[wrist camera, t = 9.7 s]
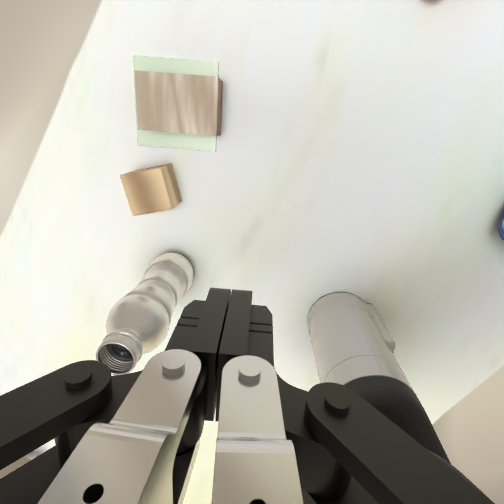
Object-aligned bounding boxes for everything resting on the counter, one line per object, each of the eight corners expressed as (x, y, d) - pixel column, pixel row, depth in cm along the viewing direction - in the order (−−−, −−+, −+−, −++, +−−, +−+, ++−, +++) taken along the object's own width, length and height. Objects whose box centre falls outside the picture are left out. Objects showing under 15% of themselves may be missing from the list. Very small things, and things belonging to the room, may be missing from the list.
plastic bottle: (148, 280, 49) (73, 375, 30) (159, 240, 46) (87, 317, 27) (188, 295, 49) (141, 397, 30) (202, 256, 47) (159, 342, 28)
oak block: (171, 163, 42) (160, 167, 38) (181, 200, 44) (171, 209, 39) (135, 170, 43) (119, 175, 38) (146, 206, 45) (132, 216, 40)
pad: (218, 62, 38) (218, 62, 38) (215, 151, 41) (215, 151, 41) (133, 55, 38) (133, 55, 38) (138, 145, 42) (137, 145, 41)
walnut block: (217, 76, 35) (134, 70, 35) (215, 135, 37) (137, 129, 37) (222, 81, 38) (147, 75, 38) (220, 135, 41) (149, 129, 41)
